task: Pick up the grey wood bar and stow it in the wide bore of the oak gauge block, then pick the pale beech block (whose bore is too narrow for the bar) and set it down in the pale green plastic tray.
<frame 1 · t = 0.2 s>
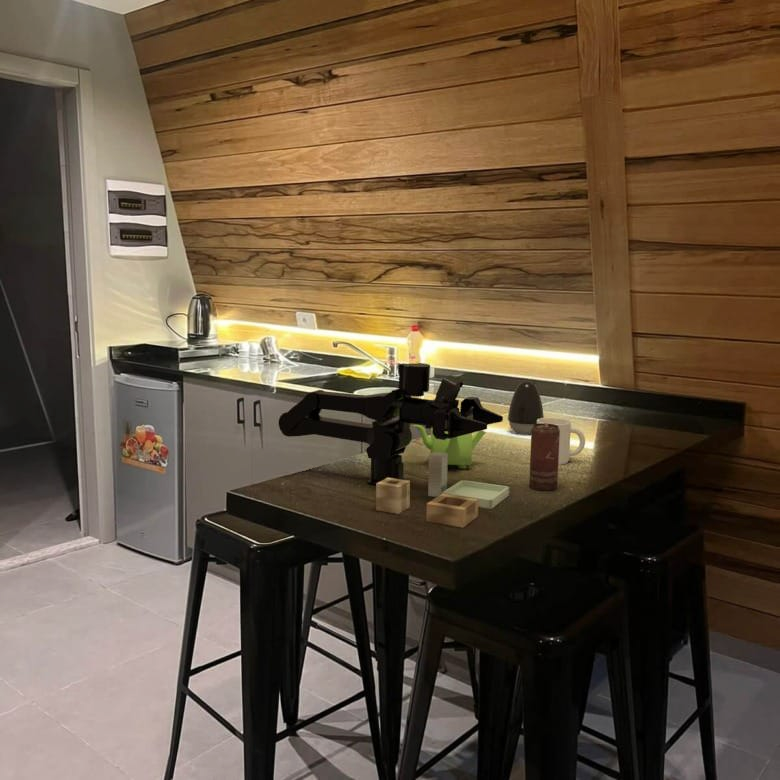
hand: (494, 422, 165), 16 cm above the countertop, tool horizontal, fingers open, 9 cm apart
mug: (559, 462, 199), on the countertop
dark tapered diffuser: (525, 433, 232), on the countertop
grey wood bar: (437, 494, 170), on the countertop
tray: (476, 497, 168), on the countertop
can: (542, 487, 177), on the countertop
oak gauge block: (452, 518, 155), on the countertop
kettle: (447, 465, 195), on the countertop
beech block: (392, 508, 161), on the countertop
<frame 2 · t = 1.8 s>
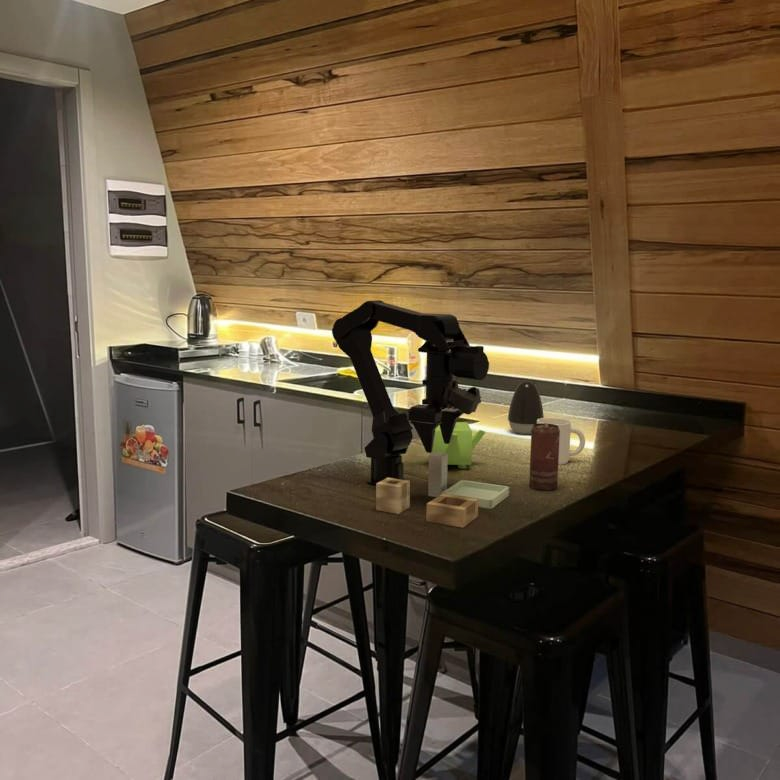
hand: (438, 448, 168), 10 cm above the countertop, tool pointing down, fingers open, 9 cm apart
nothing on the countertop moved.
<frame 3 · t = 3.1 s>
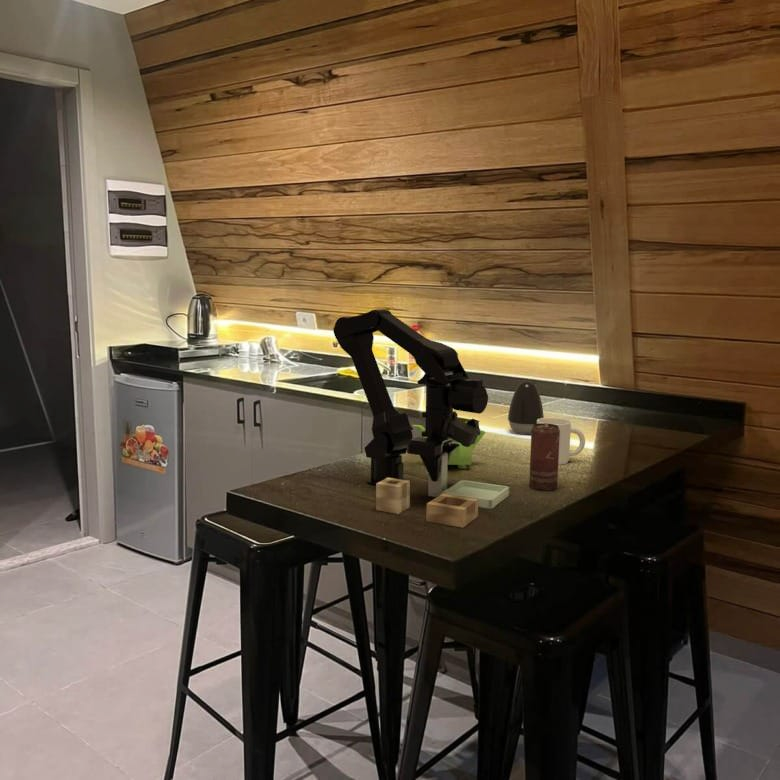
hand: (437, 479, 170), 3 cm above the countertop, tool pointing down, fingers closed on grey wood bar, 3 cm apart
grey wood bar: (437, 494, 170), on the countertop, touching gripper
everything else where it was.
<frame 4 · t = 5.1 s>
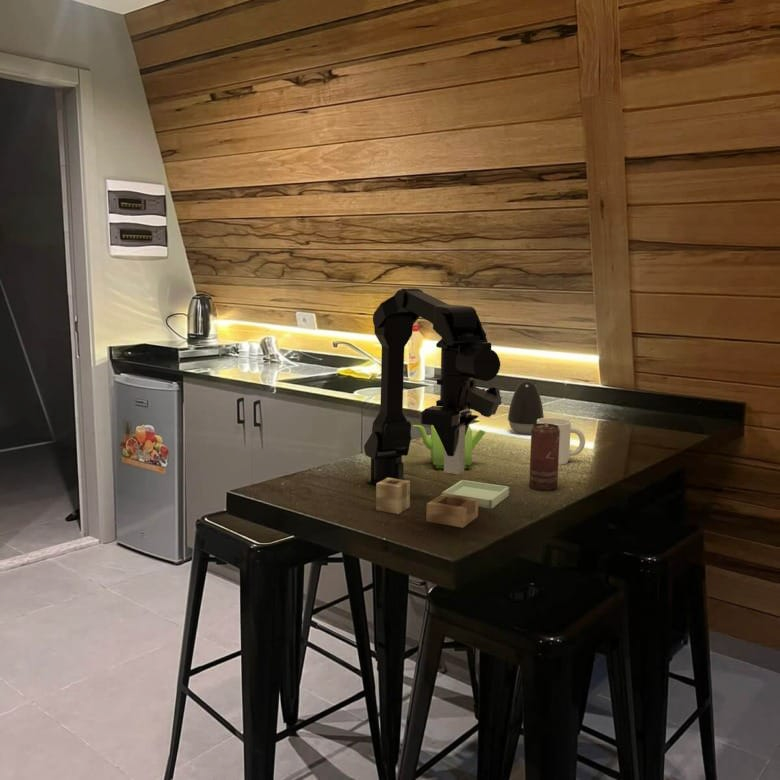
hand: (453, 454, 153), 13 cm above the countertop, tool pointing down, fingers closed on grey wood bar, 3 cm apart
grey wood bar: (453, 471, 153), point 9 cm above the countertop, touching gripper
everything else where it was.
when the fingers open (4 cm above the countertop, at t = 7.2 s): grey wood bar drops 1 cm, resting in oak gauge block.
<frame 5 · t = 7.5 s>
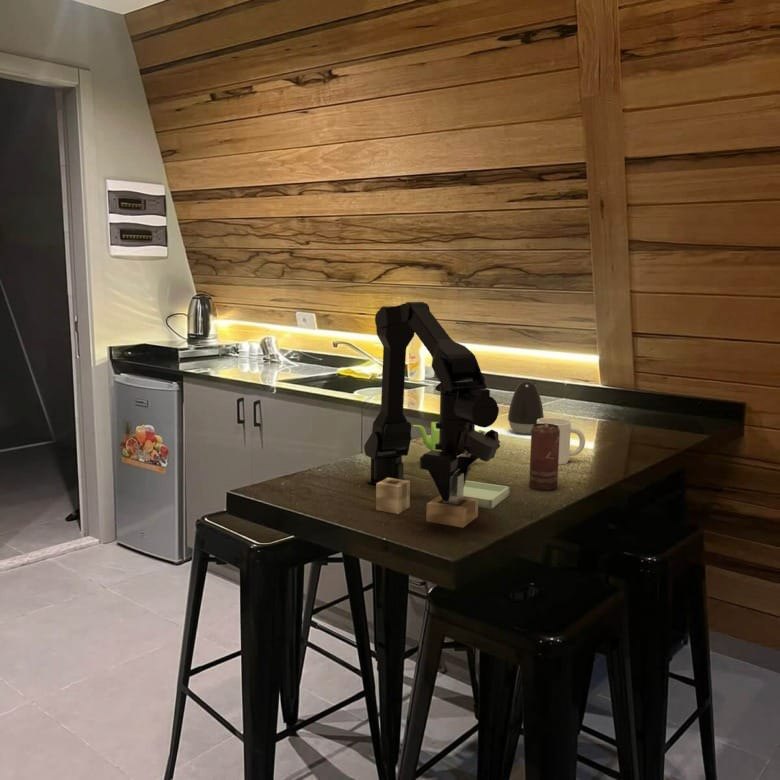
hand: (452, 496, 154), 4 cm above the countertop, tool pointing down, fingers open, 6 cm apart
grey wood bar: (452, 518, 155), resting in oak gauge block
everything else where it was.
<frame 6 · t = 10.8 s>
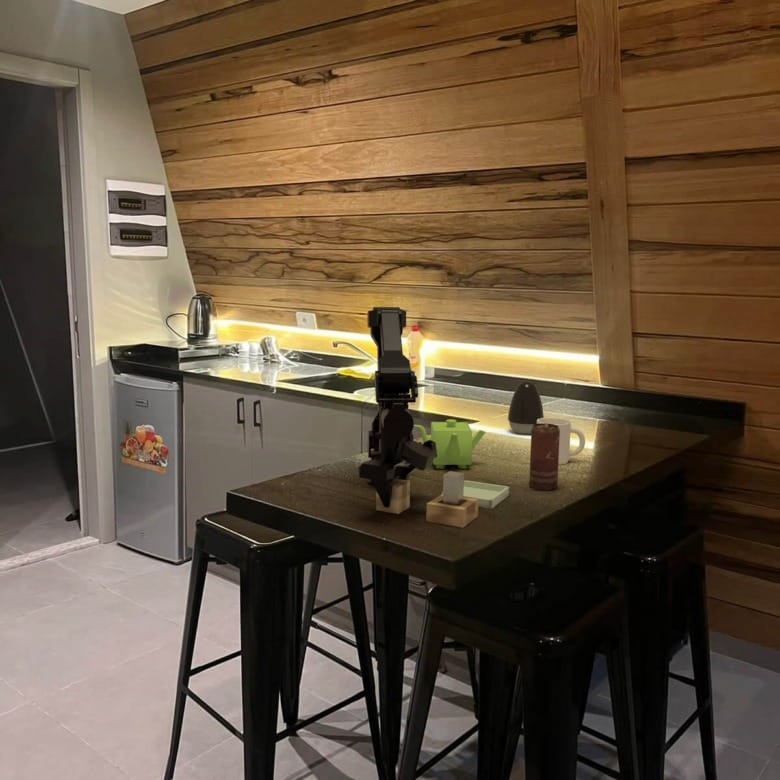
hand: (392, 503, 160), 1 cm above the countertop, tool pointing down, fingers closed on beech block, 5 cm apart
beech block: (392, 508, 161), on the countertop, touching gripper
everything else where it was.
when the fingers open (3 cm above the countertop, at t = 14.7 s): beech block drops 1 cm, resting on tray.
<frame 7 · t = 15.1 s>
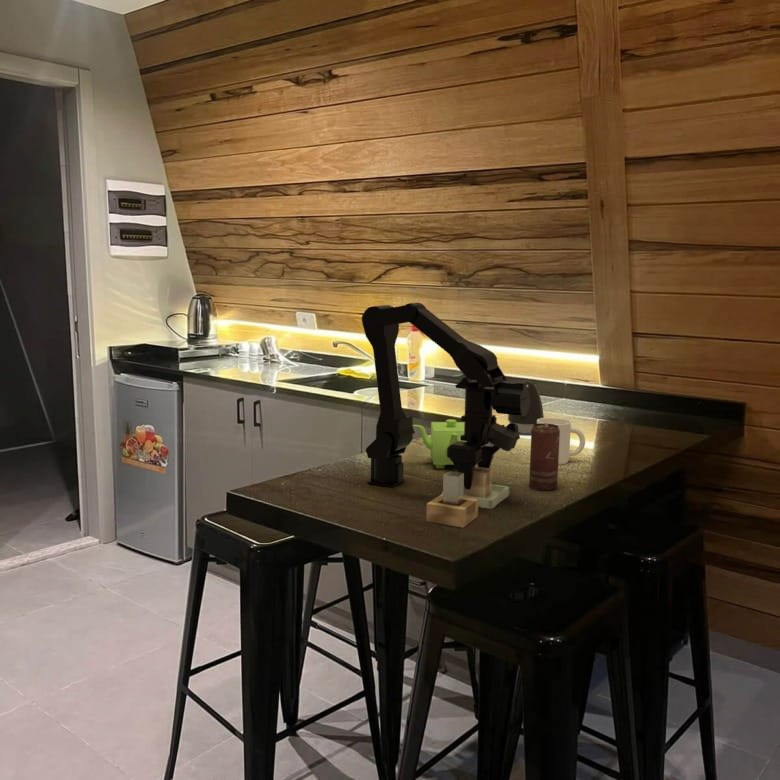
hand: (476, 483, 168), 3 cm above the countertop, tool pointing down, fingers open, 9 cm apart
beech block: (476, 495, 168), point 1 cm above the countertop, touching tray
everything else where it was.
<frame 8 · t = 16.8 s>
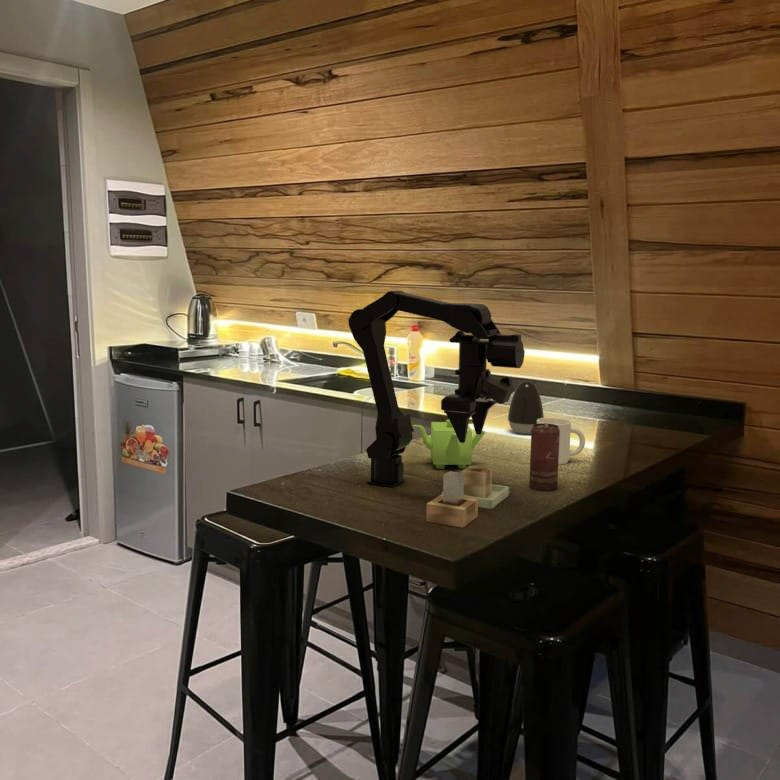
hand: (470, 438, 168), 12 cm above the countertop, tool pointing down, fingers open, 9 cm apart
nothing on the countertop moved.
at the end: beech block inside the target area on the tray (0.0 cm from its centre), point 0.6 cm above the tray's base; beech block tilted 0°; grey wood bar 0.1 cm from the oak gauge block (horizontally) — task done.
